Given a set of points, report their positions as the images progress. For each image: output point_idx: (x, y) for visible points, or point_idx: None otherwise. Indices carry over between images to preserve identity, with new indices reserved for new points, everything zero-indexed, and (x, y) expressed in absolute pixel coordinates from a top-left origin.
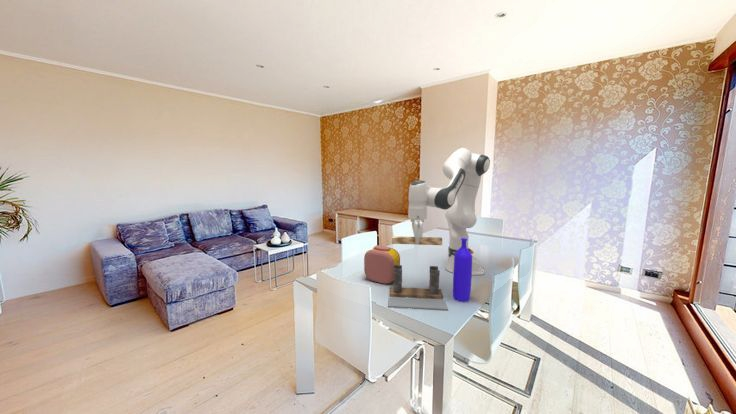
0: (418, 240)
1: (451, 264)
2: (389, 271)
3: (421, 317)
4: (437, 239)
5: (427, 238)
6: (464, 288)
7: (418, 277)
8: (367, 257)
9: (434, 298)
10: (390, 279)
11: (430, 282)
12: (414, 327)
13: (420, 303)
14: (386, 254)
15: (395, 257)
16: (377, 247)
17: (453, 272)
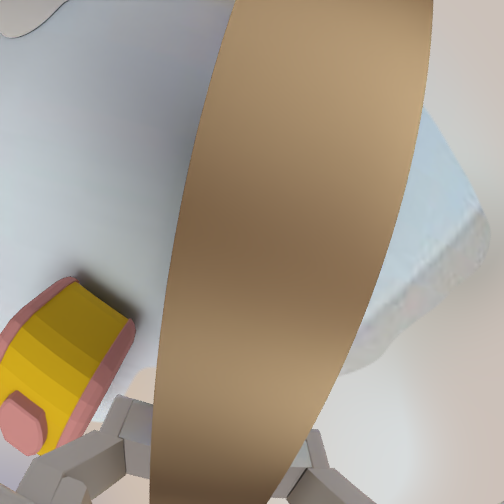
0: (331, 476)
1: (24, 8)
2: (123, 359)
3: (404, 261)
4: (423, 72)
5: (316, 344)
6: None
7: (62, 170)
8: None
9: None
10: (135, 332)
11: None
12: (438, 296)
13: None
14: (81, 425)
15: (59, 359)
16: (33, 451)
17: (54, 10)
